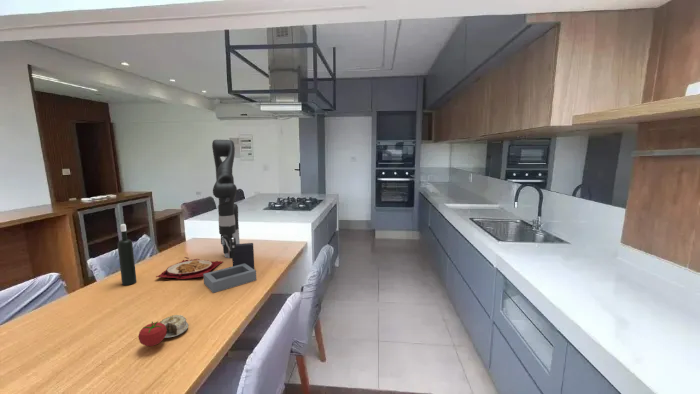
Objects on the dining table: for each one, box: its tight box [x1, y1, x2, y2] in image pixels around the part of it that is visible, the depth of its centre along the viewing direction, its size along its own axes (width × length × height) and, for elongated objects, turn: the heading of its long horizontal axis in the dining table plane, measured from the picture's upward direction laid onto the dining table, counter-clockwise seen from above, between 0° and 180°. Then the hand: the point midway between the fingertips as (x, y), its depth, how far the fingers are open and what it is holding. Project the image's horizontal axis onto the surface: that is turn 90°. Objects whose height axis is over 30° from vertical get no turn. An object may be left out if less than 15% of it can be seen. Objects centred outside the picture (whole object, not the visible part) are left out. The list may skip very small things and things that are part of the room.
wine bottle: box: [117, 223, 137, 286], centre depth 143 cm, size 6×6×30 cm
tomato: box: [138, 320, 167, 347], centre depth 97 cm, size 8×8×8 cm
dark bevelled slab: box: [231, 242, 255, 270], centre depth 159 cm, size 11×4×15 cm, turn 105°
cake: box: [159, 314, 189, 339], centre depth 105 cm, size 10×10×5 cm
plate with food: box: [155, 256, 224, 280], centre depth 160 cm, size 24×26×3 cm
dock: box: [203, 263, 257, 294], centre depth 145 cm, size 14×21×5 cm, turn 132°
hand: (229, 255), depth 144 cm, fingers open, 8 cm apart
